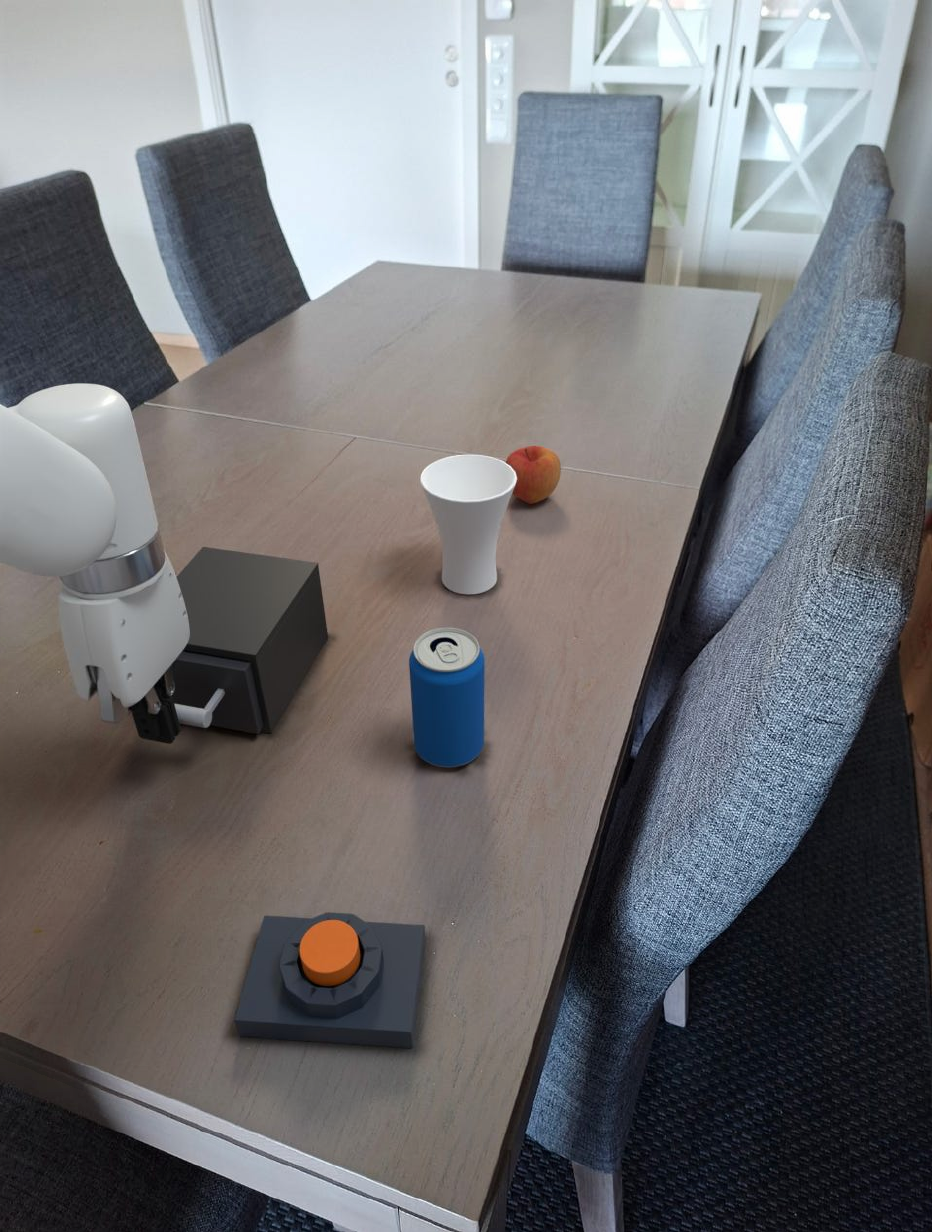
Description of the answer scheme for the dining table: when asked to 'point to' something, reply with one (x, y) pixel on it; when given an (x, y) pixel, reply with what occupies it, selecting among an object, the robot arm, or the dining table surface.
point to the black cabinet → (257, 618)
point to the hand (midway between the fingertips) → (160, 734)
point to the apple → (534, 472)
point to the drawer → (216, 692)
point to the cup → (468, 516)
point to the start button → (330, 952)
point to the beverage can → (447, 697)
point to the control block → (344, 1013)
